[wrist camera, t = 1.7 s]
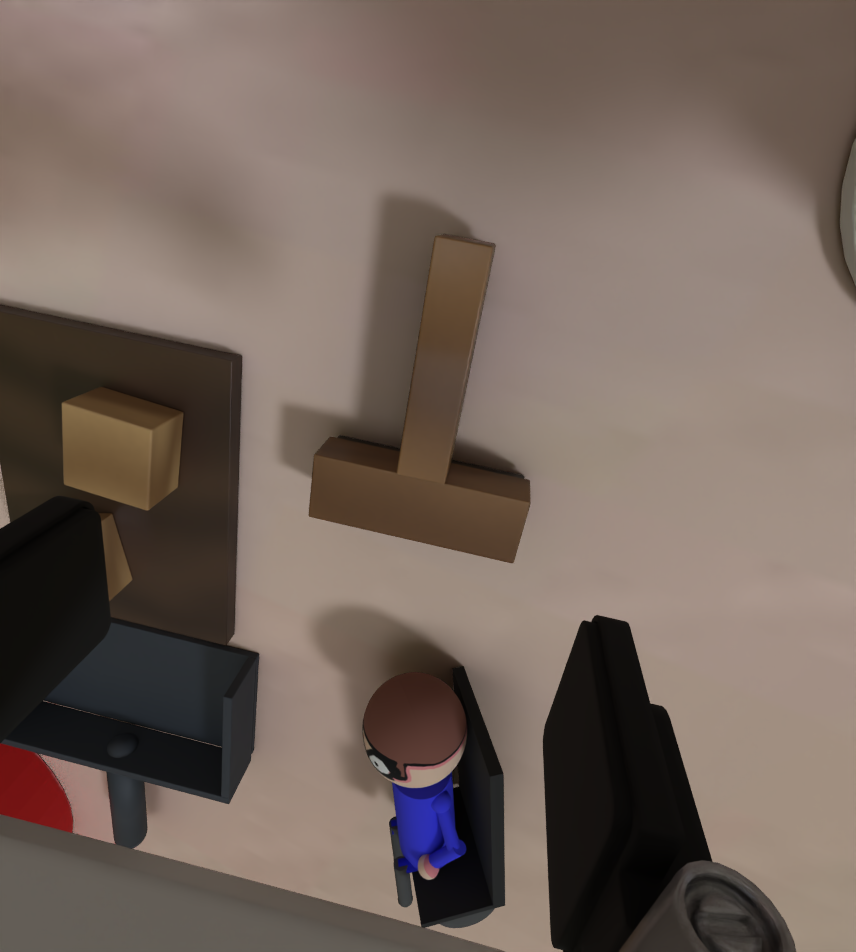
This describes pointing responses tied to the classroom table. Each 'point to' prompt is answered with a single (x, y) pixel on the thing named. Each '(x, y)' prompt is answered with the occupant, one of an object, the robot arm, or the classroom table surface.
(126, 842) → the dustpan
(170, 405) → the tray
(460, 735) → the character figurine
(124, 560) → the cork chip
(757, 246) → the classroom table surface
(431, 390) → the brush
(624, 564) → the classroom table surface
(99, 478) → the cork chip
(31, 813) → the toy clock
